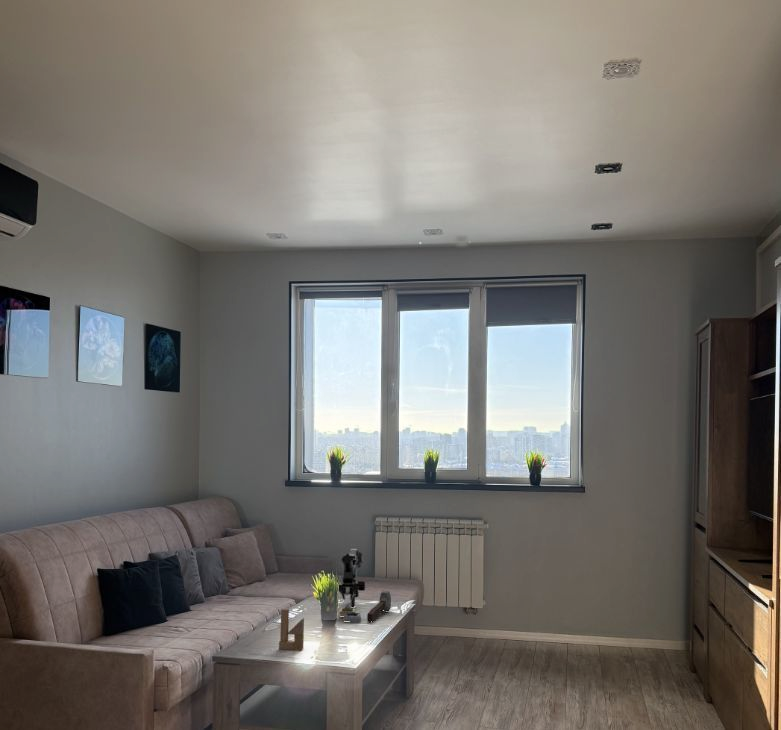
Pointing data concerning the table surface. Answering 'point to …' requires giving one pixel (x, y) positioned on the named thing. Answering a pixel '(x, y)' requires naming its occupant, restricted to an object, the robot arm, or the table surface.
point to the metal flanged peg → (347, 600)
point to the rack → (346, 611)
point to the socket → (352, 617)
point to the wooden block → (296, 631)
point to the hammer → (380, 606)
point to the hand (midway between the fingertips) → (347, 599)
